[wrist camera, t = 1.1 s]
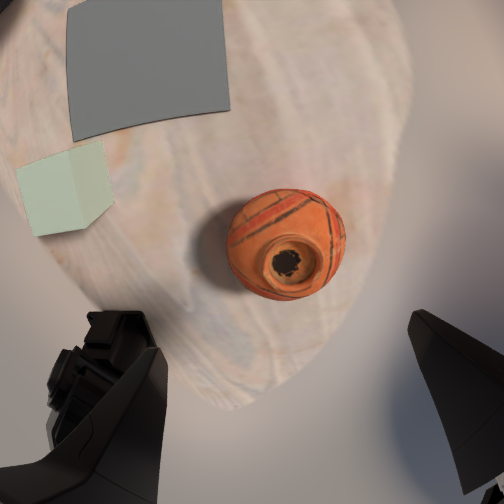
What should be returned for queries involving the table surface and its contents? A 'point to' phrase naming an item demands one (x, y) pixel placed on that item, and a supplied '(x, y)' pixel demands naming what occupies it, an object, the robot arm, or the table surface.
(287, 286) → the pot
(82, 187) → the sage block
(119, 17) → the charcoal mat
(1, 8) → the calculator
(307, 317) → the table surface
